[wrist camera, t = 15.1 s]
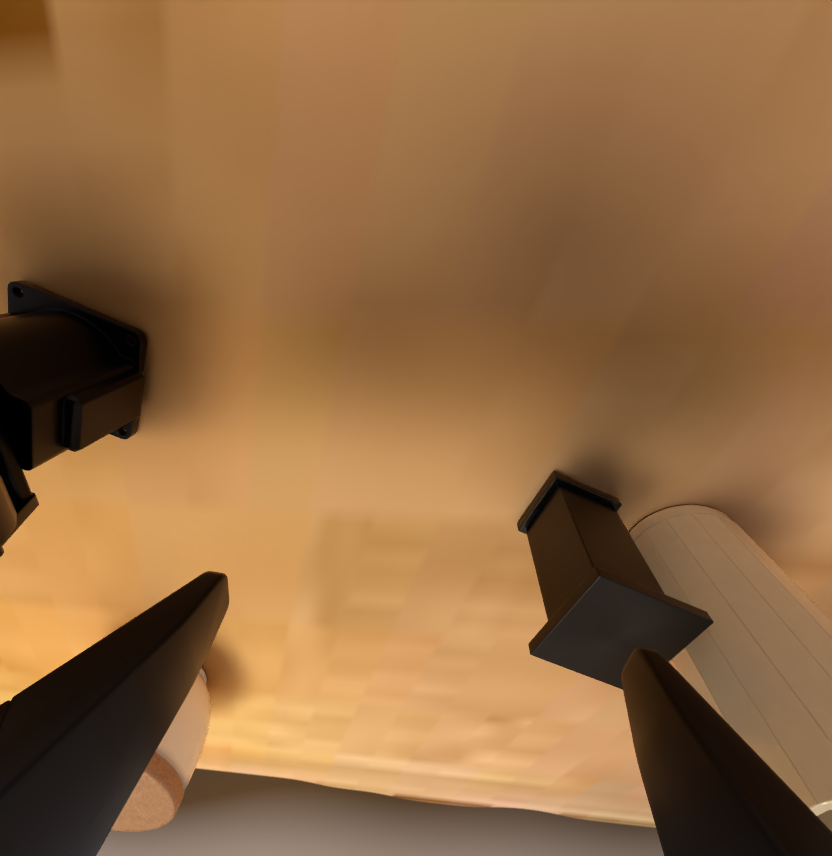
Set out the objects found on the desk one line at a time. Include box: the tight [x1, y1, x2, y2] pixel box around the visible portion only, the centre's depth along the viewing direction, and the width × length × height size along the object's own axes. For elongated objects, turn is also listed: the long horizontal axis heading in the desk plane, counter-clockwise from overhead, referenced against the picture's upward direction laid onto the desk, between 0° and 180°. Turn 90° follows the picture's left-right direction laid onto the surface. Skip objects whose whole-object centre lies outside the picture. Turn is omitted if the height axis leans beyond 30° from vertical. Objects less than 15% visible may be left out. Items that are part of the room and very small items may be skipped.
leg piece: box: [517, 471, 714, 689], centre depth 19 cm, size 5×5×8 cm
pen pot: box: [629, 505, 832, 831], centre depth 18 cm, size 6×6×12 cm
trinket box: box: [111, 667, 211, 831], centre depth 28 cm, size 11×11×9 cm
